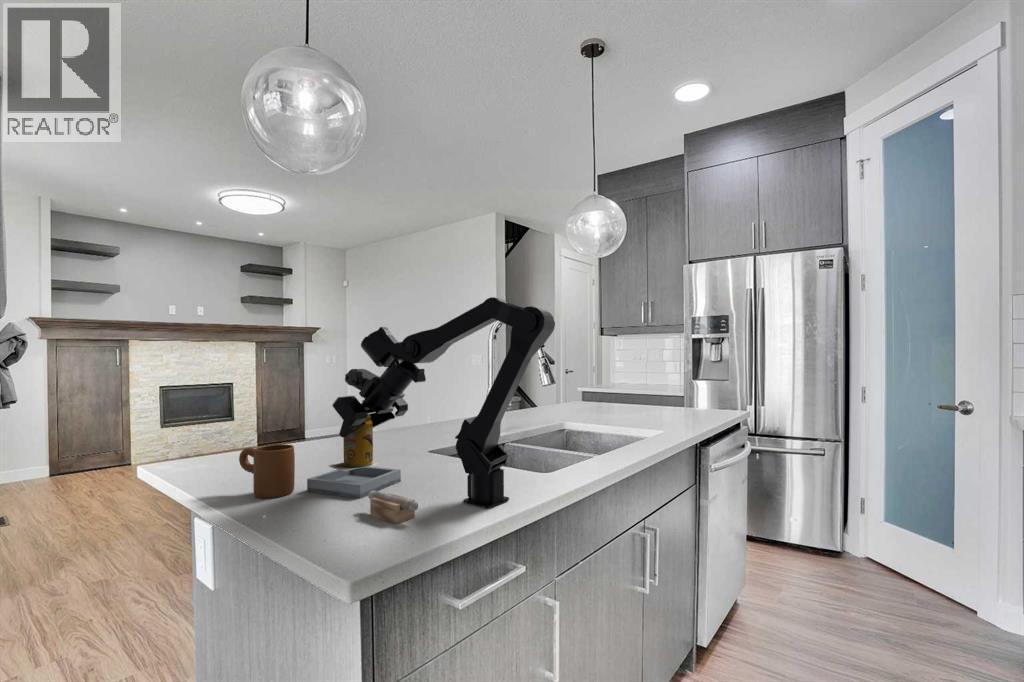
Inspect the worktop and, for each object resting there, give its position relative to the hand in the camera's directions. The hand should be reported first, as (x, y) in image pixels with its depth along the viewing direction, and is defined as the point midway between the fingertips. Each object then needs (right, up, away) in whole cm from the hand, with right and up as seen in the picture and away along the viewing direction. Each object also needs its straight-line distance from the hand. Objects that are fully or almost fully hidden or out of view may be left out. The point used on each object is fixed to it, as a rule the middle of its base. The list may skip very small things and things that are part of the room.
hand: (351, 433), depth 106 cm
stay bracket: (+14, -11, -20) cm, 27 cm away
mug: (-16, -12, -5) cm, 20 cm away
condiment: (+1, -7, -1) cm, 7 cm away
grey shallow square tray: (+1, -11, -1) cm, 11 cm away
